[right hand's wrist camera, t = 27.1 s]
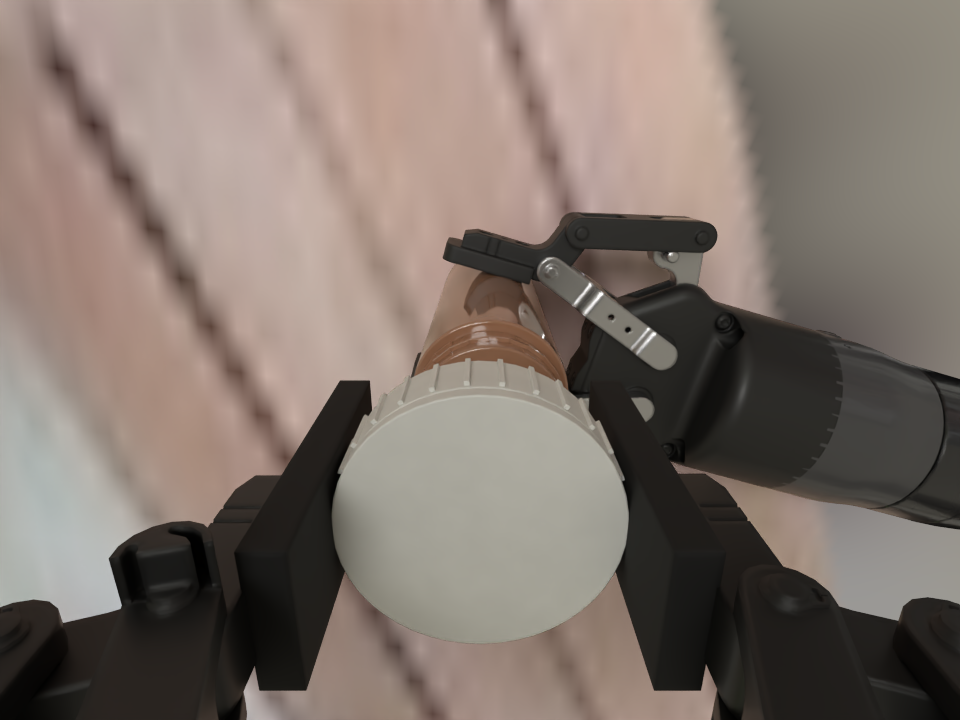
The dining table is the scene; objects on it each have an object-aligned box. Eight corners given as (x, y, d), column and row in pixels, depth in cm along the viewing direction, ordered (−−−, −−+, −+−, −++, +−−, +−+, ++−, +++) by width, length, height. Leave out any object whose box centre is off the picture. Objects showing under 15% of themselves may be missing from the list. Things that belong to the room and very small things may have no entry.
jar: (429, 271, 30) (374, 377, 15) (512, 234, 29) (537, 307, 15) (466, 349, 31) (449, 513, 17) (546, 315, 31) (600, 456, 16)
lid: (566, 606, 13) (578, 670, 12) (328, 557, 13) (306, 616, 11) (650, 393, 12) (679, 433, 10) (375, 326, 11) (356, 357, 9)
